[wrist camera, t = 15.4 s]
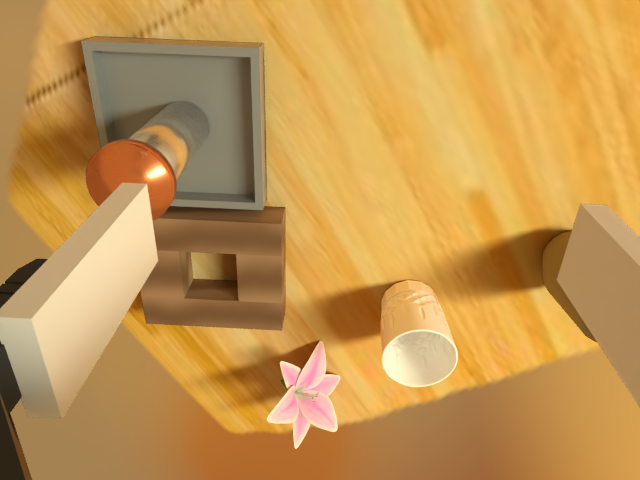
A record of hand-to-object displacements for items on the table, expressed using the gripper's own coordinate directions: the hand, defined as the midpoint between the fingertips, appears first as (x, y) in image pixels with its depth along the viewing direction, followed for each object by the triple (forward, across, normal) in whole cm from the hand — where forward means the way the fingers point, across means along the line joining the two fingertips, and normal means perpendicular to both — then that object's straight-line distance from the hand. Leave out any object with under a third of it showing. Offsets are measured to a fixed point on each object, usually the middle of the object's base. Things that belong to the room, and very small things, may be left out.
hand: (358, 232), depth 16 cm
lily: (+37, -3, -41) cm, 55 cm away
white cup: (+37, +9, -29) cm, 48 cm away
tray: (+37, -16, -8) cm, 41 cm away
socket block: (+37, -14, -24) cm, 46 cm away
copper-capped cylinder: (+36, -16, -8) cm, 40 cm away
